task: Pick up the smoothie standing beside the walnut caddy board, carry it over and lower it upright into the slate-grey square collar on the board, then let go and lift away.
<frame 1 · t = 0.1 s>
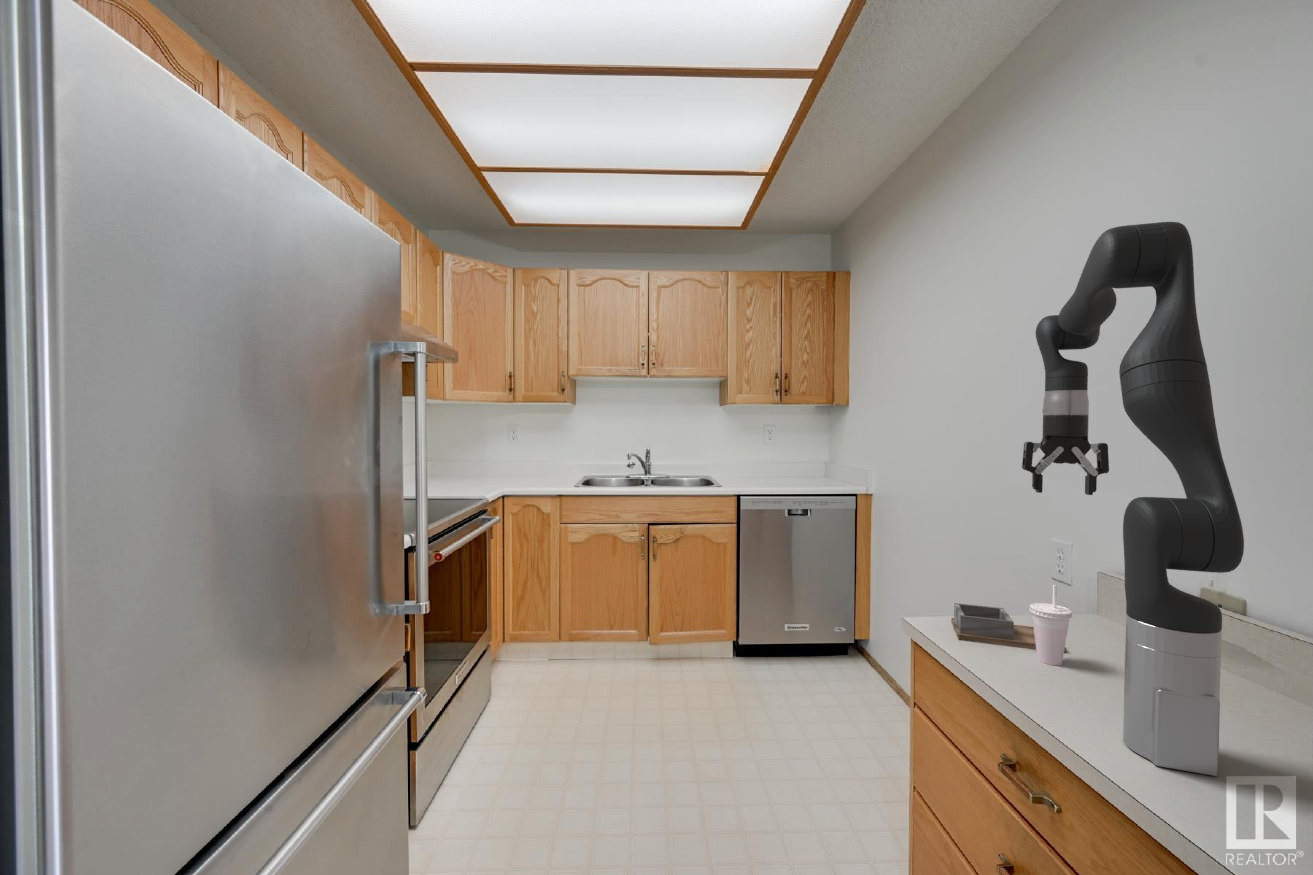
hand: (1063, 493, 116), 29 cm above the worktop, fingers open, 8 cm apart
smoothie: (1049, 662, 104), on the worktop
caddy: (1004, 636, 116), on the worktop
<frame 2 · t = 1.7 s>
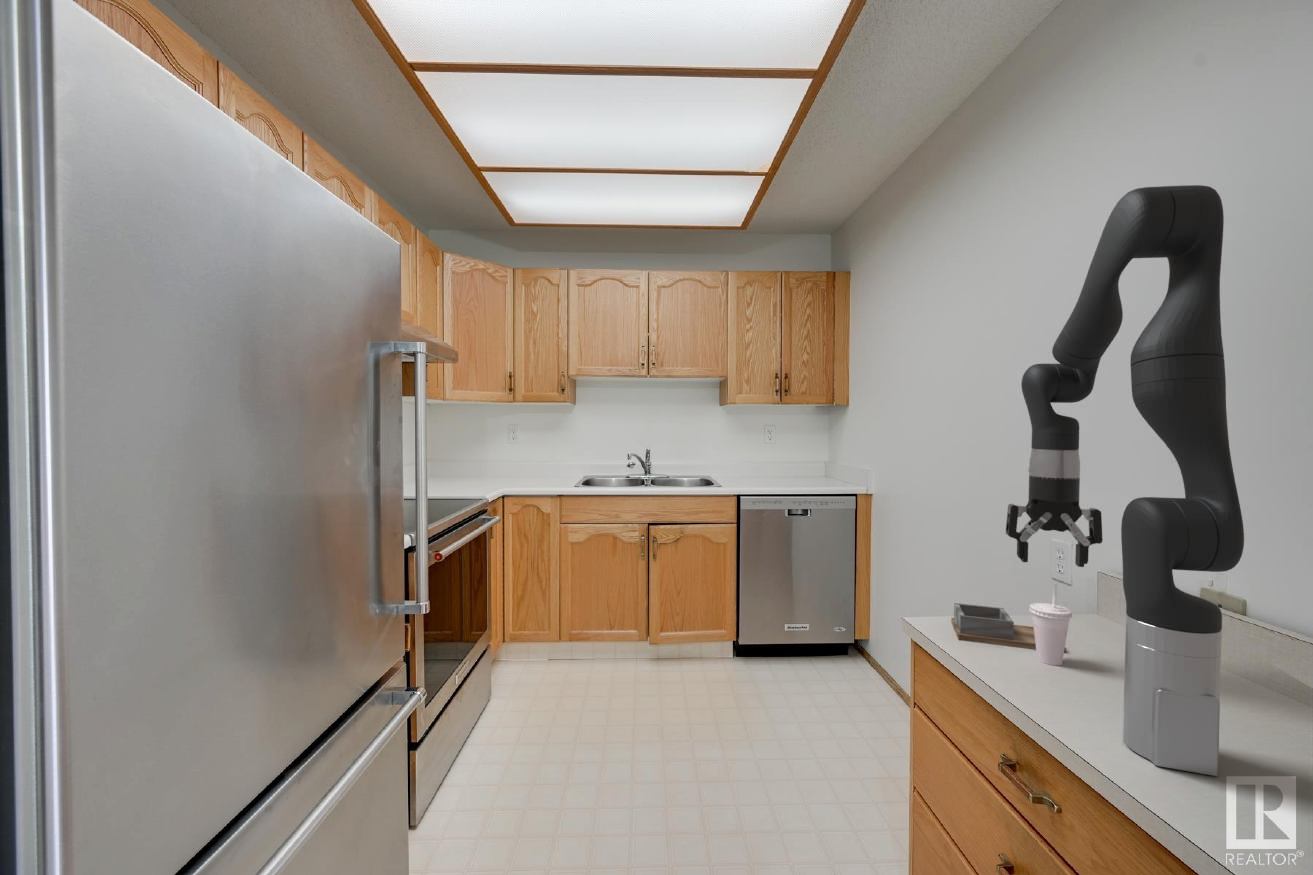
hand: (1051, 563, 103), 18 cm above the worktop, fingers open, 8 cm apart
nothing on the worktop moved.
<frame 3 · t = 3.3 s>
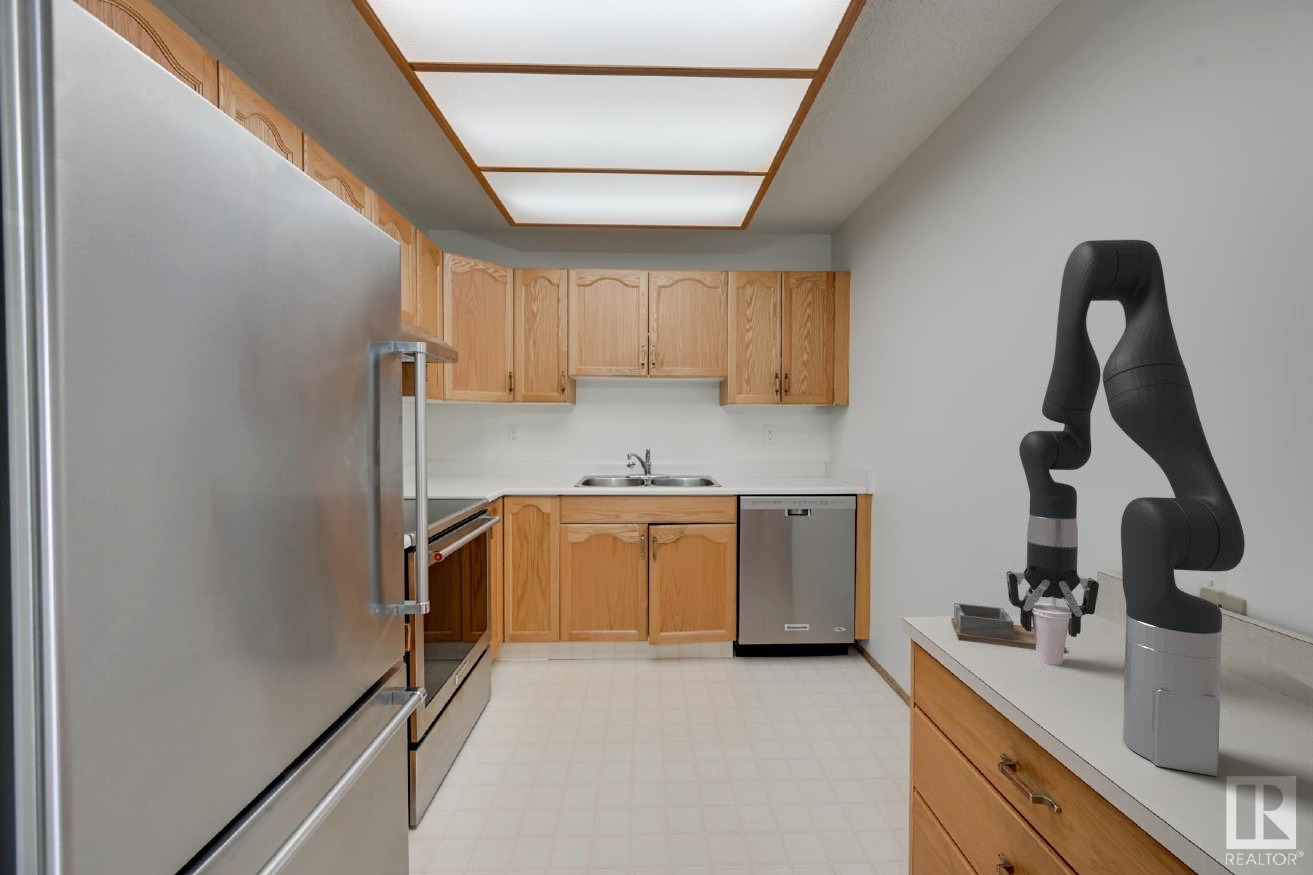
hand: (1049, 632, 104), 5 cm above the worktop, fingers closed on smoothie, 6 cm apart
smoothie: (1049, 662, 104), on the worktop, touching gripper
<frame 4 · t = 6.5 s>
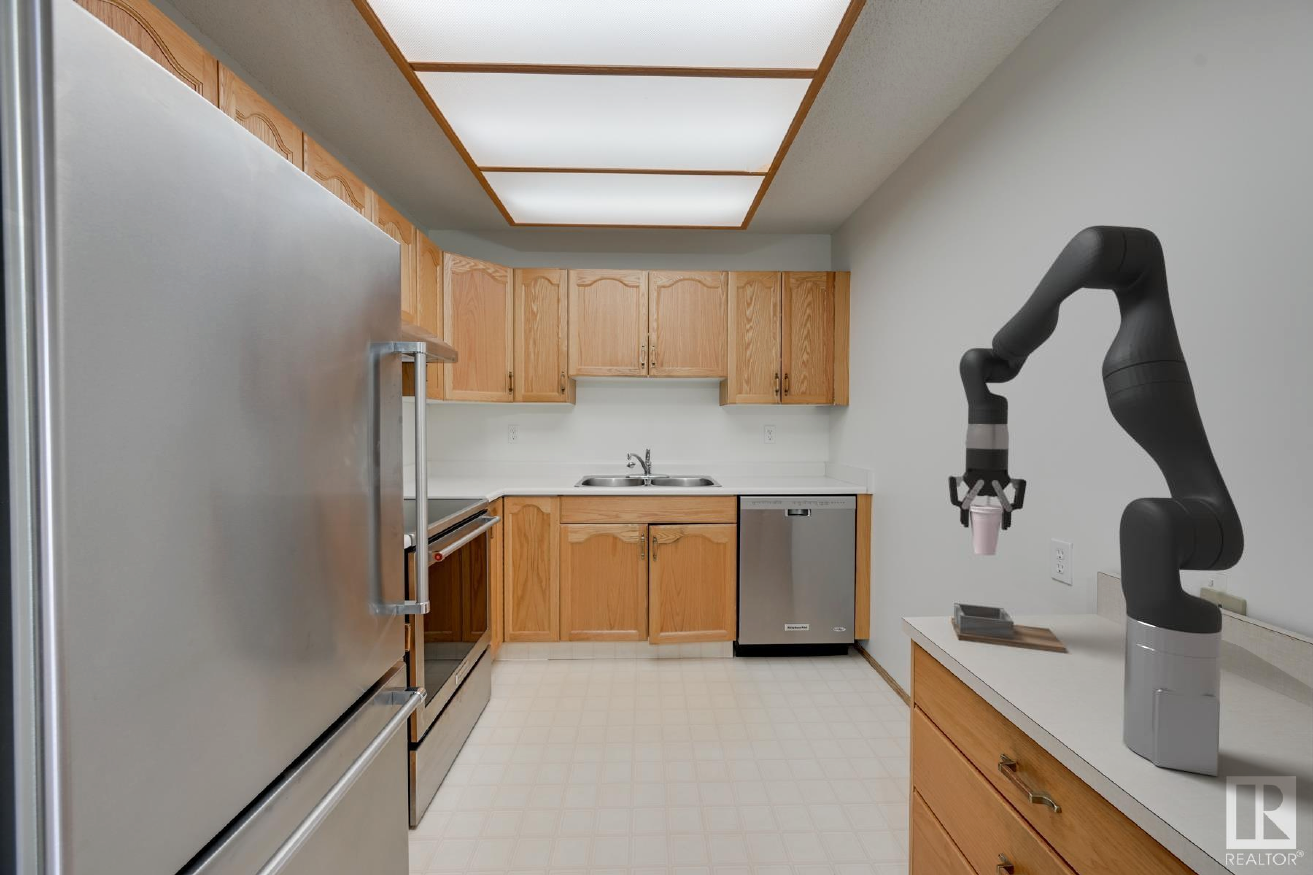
hand: (985, 528, 117), 22 cm above the worktop, fingers closed on smoothie, 6 cm apart
smoothie: (984, 554, 117), point 16 cm above the worktop, touching gripper
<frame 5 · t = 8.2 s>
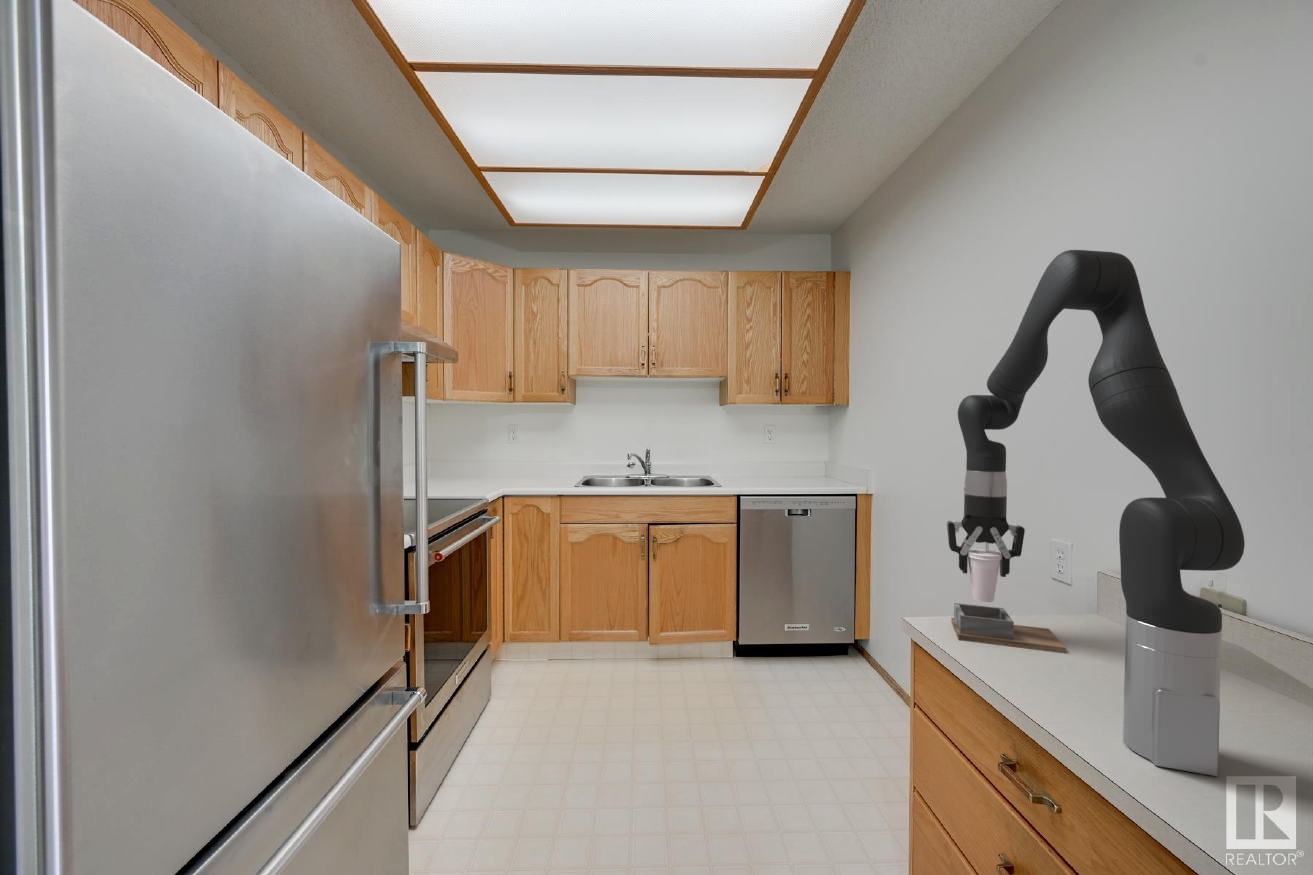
hand: (983, 574, 117), 12 cm above the worktop, fingers closed on smoothie, 6 cm apart
smoothie: (983, 600, 117), point 7 cm above the worktop, touching gripper
when the fingers open (7 cm above the worktop, at t = 9.7 s): smoothie drops 1 cm, resting on caddy.
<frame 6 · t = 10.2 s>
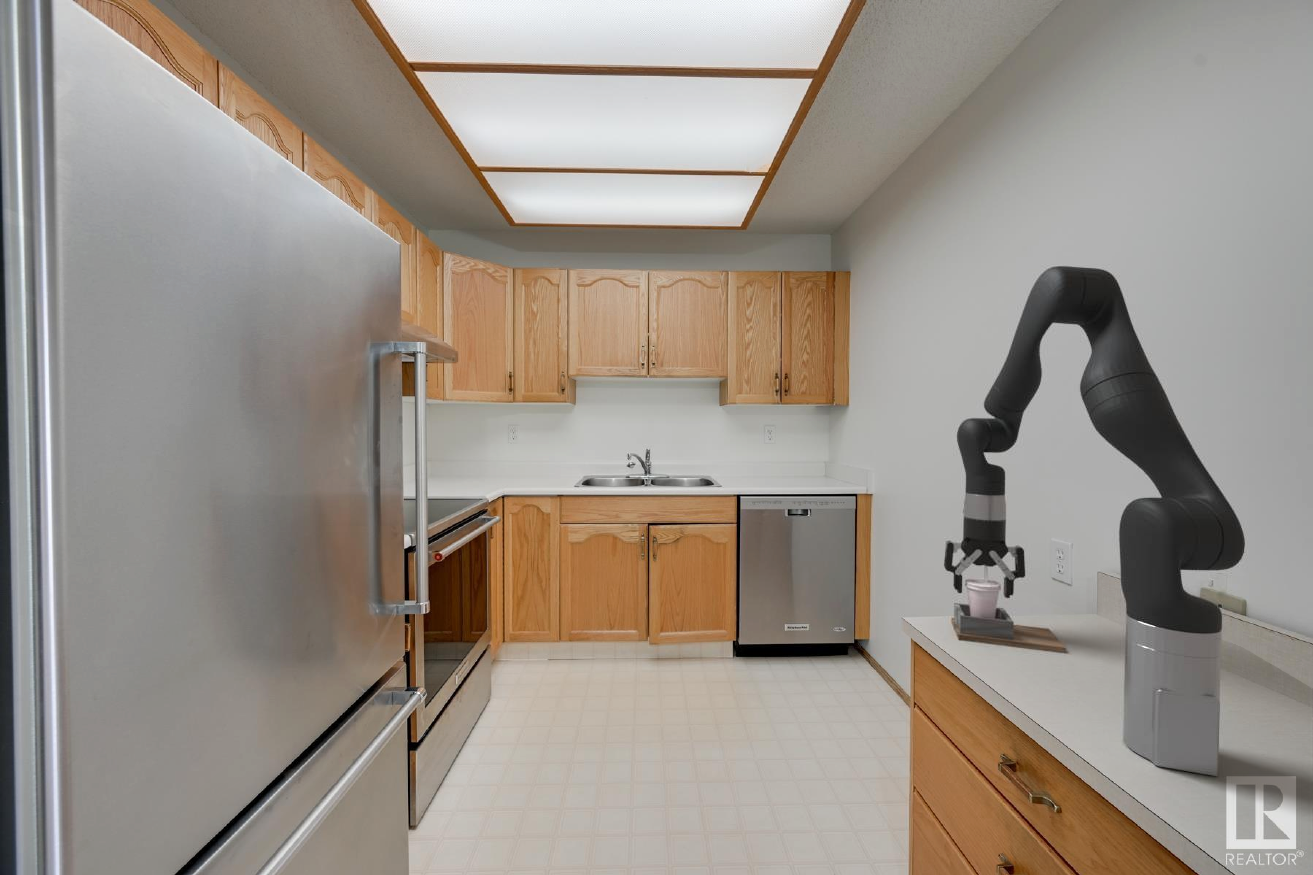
hand: (982, 594, 117), 8 cm above the worktop, fingers open, 8 cm apart
smoothie: (982, 630, 117), point 1 cm above the worktop, touching caddy
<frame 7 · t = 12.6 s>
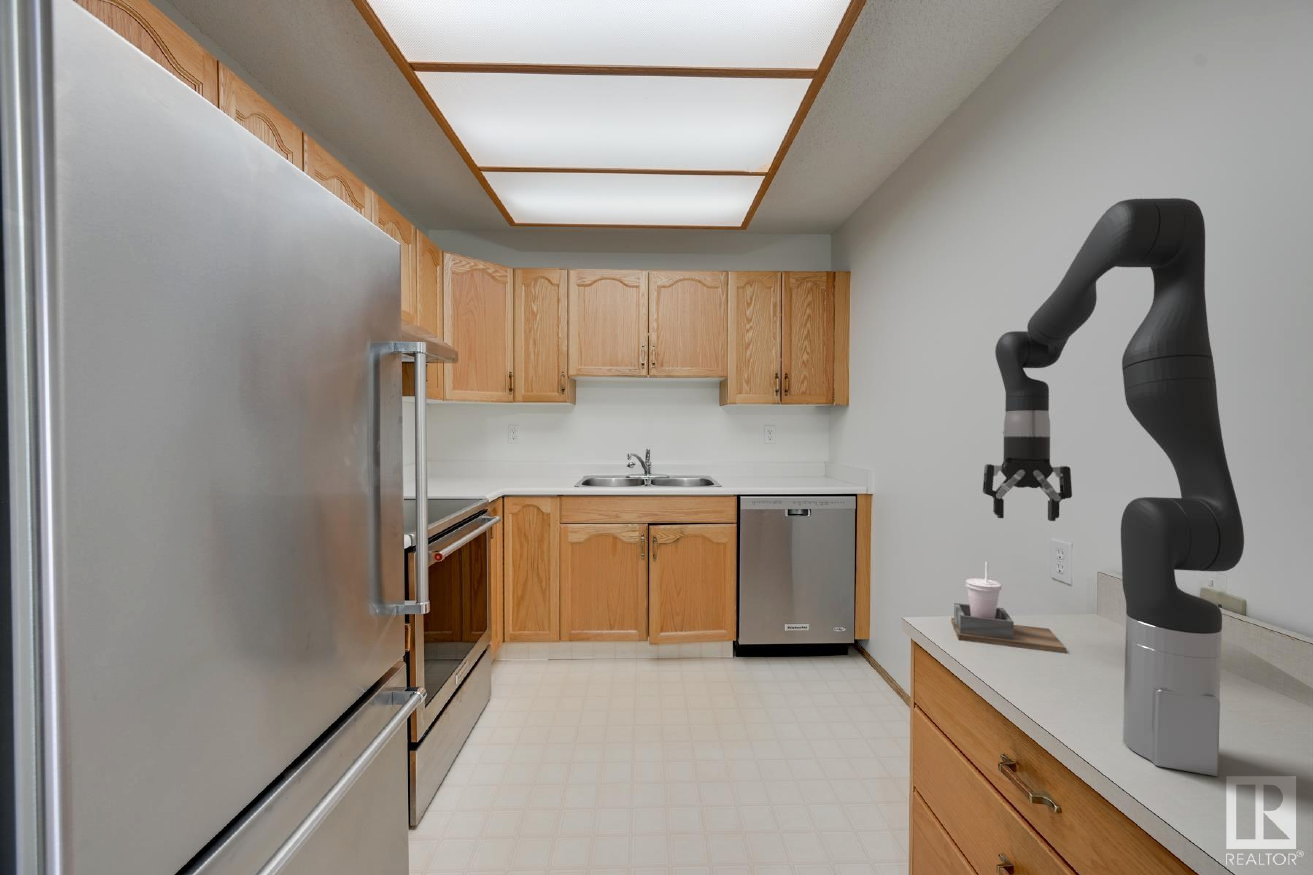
hand: (1025, 519, 110), 25 cm above the worktop, fingers open, 8 cm apart
nothing on the worktop moved.
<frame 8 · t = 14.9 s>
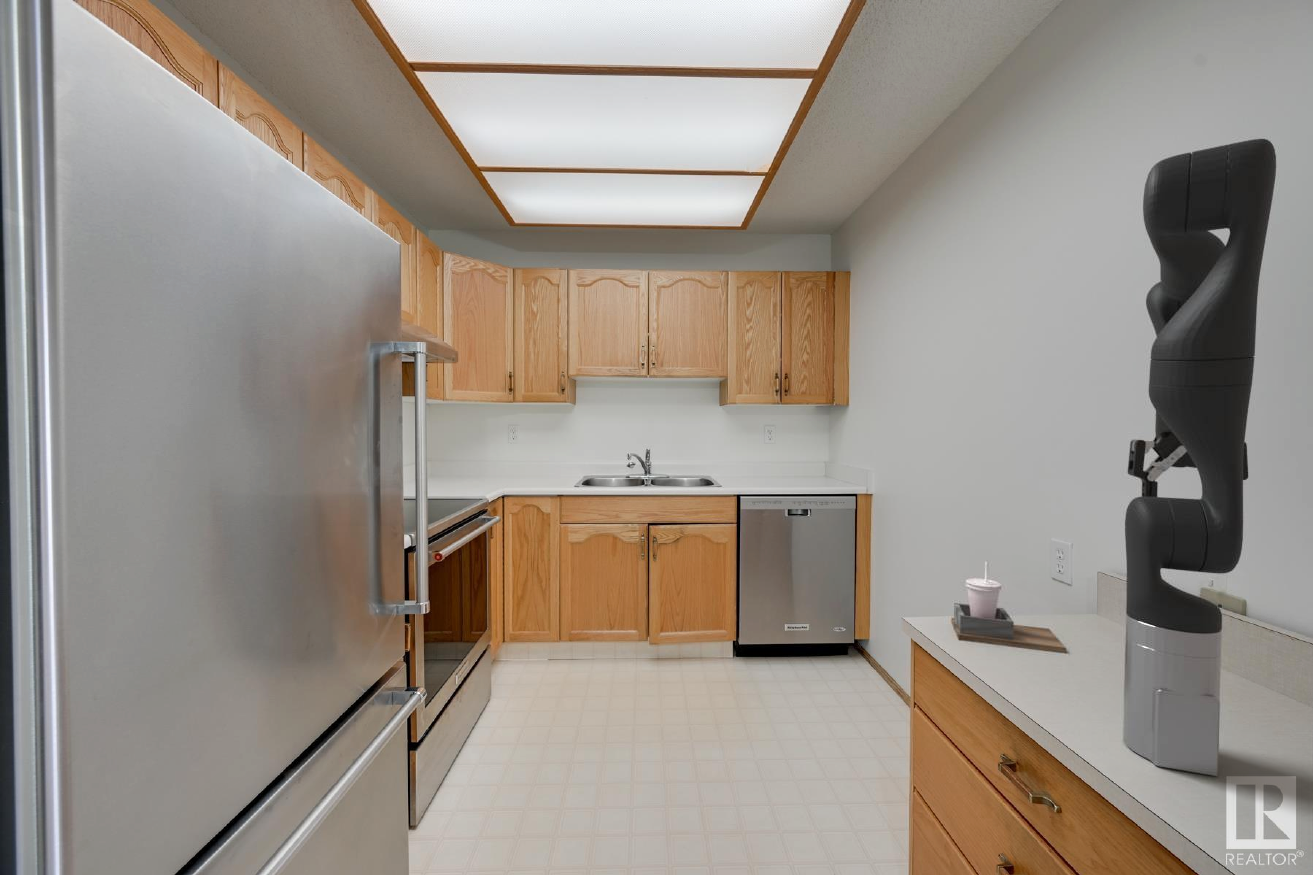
hand: (1184, 505, 91), 30 cm above the worktop, fingers open, 8 cm apart
nothing on the worktop moved.
at the end: smoothie 0.1 cm from the target spot on the caddy, point 0.8 cm above the caddy's base; smoothie tilted 0°; the gripper is holding nothing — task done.
